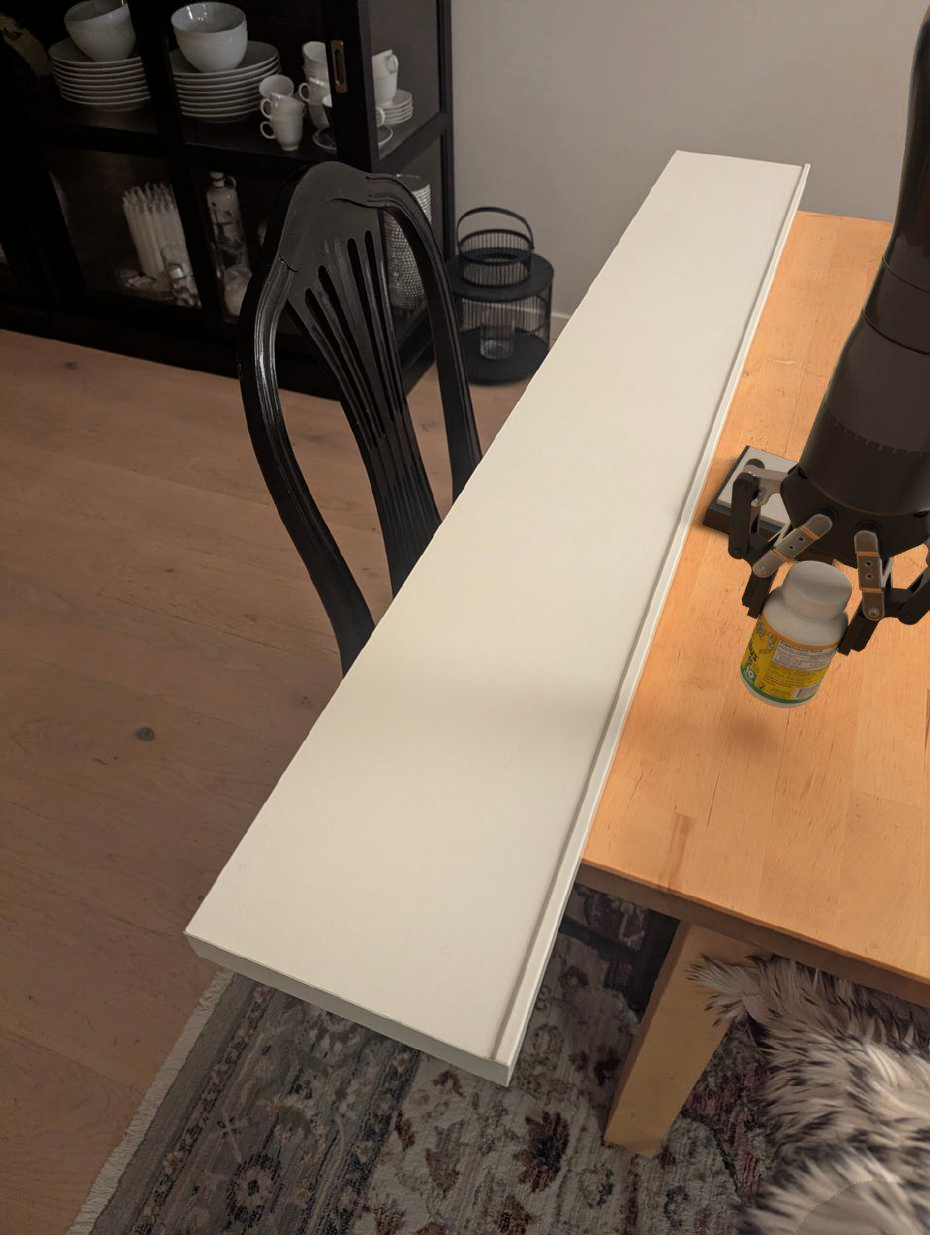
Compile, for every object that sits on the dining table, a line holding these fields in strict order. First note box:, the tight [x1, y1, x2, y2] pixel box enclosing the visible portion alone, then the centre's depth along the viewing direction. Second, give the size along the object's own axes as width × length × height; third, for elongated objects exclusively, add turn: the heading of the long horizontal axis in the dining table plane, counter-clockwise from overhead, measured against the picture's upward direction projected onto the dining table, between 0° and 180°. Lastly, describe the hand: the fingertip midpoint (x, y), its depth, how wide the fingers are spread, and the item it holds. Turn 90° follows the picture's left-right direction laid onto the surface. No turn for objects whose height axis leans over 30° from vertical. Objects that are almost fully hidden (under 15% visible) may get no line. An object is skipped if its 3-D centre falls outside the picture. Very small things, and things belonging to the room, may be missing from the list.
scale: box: [702, 444, 835, 566], centre depth 84 cm, size 12×12×3 cm
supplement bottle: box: [738, 561, 853, 709], centre depth 59 cm, size 5×5×10 cm
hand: (800, 627), depth 58 cm, fingers closed on supplement bottle, 5 cm apart
